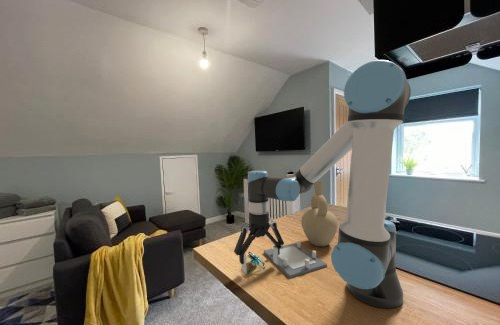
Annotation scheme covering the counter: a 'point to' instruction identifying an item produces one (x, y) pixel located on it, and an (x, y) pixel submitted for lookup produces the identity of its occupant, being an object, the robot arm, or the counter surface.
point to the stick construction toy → (254, 262)
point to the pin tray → (296, 260)
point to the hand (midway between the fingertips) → (260, 267)
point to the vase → (319, 220)
